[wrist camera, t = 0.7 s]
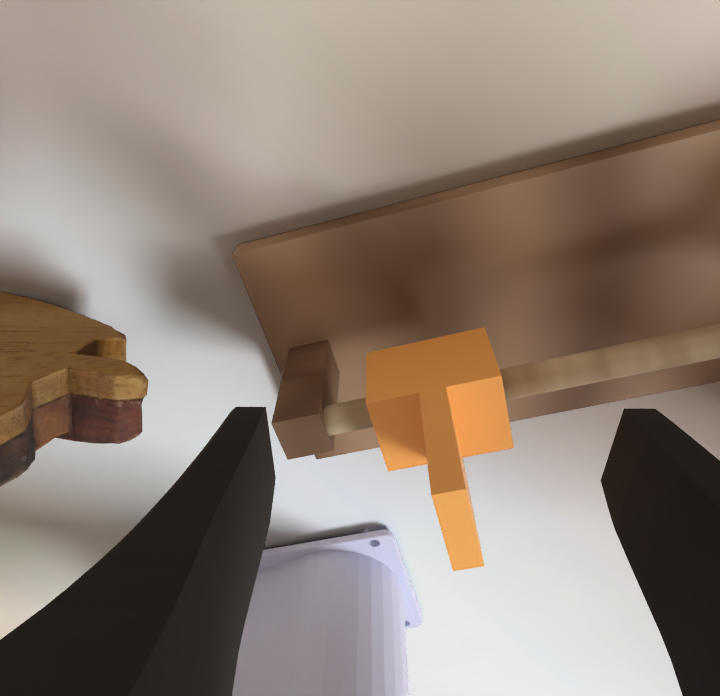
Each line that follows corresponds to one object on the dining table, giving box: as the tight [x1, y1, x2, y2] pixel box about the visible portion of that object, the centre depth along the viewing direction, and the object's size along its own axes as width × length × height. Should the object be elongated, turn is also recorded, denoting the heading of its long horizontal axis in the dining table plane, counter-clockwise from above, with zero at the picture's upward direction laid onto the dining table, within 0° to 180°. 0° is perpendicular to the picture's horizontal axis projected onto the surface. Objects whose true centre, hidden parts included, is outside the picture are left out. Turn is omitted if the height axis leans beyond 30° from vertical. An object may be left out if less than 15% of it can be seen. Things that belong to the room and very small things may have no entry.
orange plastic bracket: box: [366, 327, 514, 571], centre depth 17 cm, size 4×3×7 cm
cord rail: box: [232, 120, 720, 459], centre depth 19 cm, size 24×10×6 cm, turn 105°
